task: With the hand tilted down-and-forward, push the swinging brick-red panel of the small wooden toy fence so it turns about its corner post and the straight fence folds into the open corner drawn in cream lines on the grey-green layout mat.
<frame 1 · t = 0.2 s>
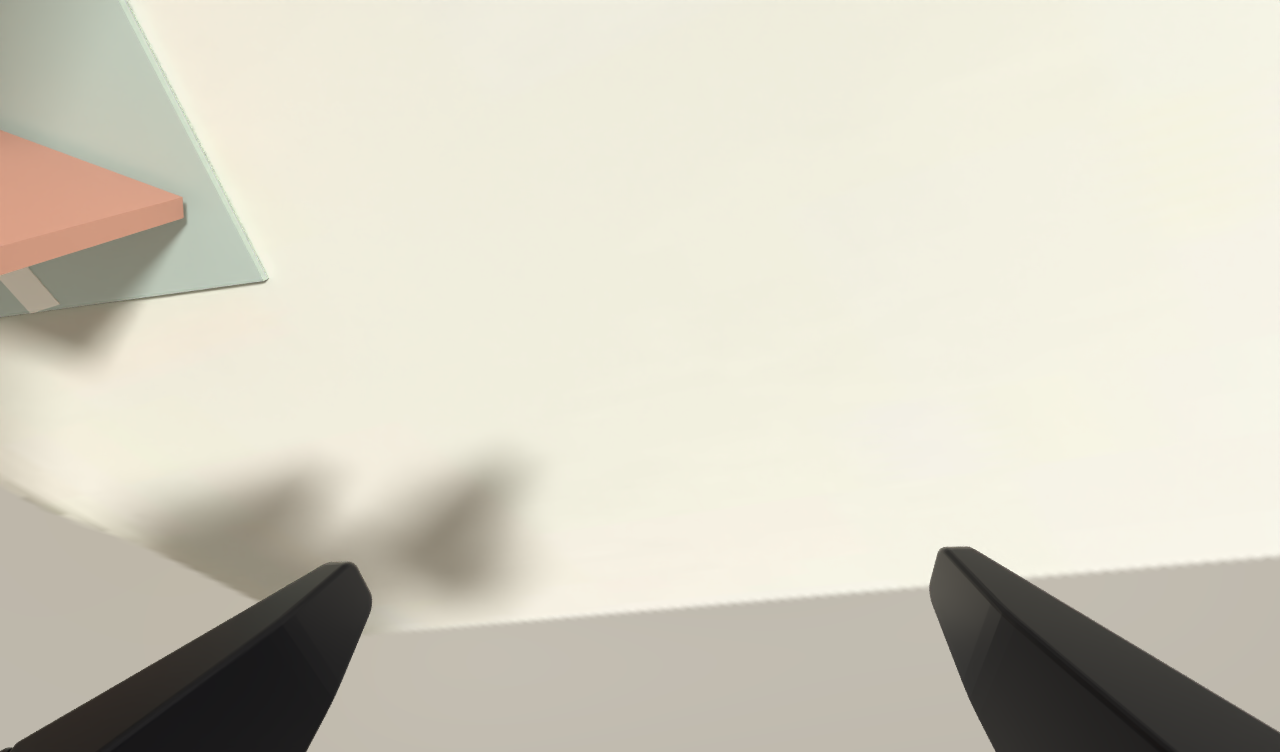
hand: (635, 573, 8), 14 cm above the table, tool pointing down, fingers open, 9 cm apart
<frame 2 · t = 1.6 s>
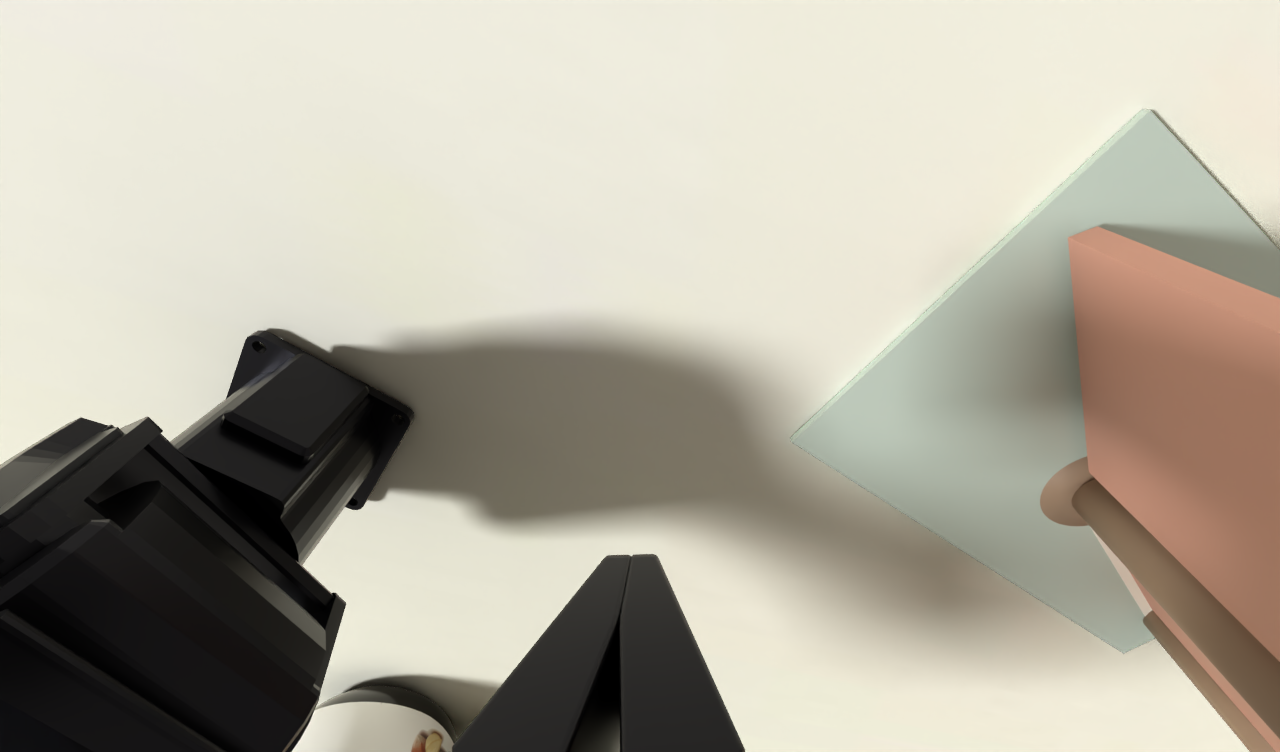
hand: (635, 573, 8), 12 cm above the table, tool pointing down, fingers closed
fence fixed: (1089, 485, 22), resting on layout mat
spread jar: (429, 714, 34), on the table
layout mat: (1089, 485, 22), on the table
swing panel: (1195, 475, 15), point 5 cm above the table, hinge at 0.0°
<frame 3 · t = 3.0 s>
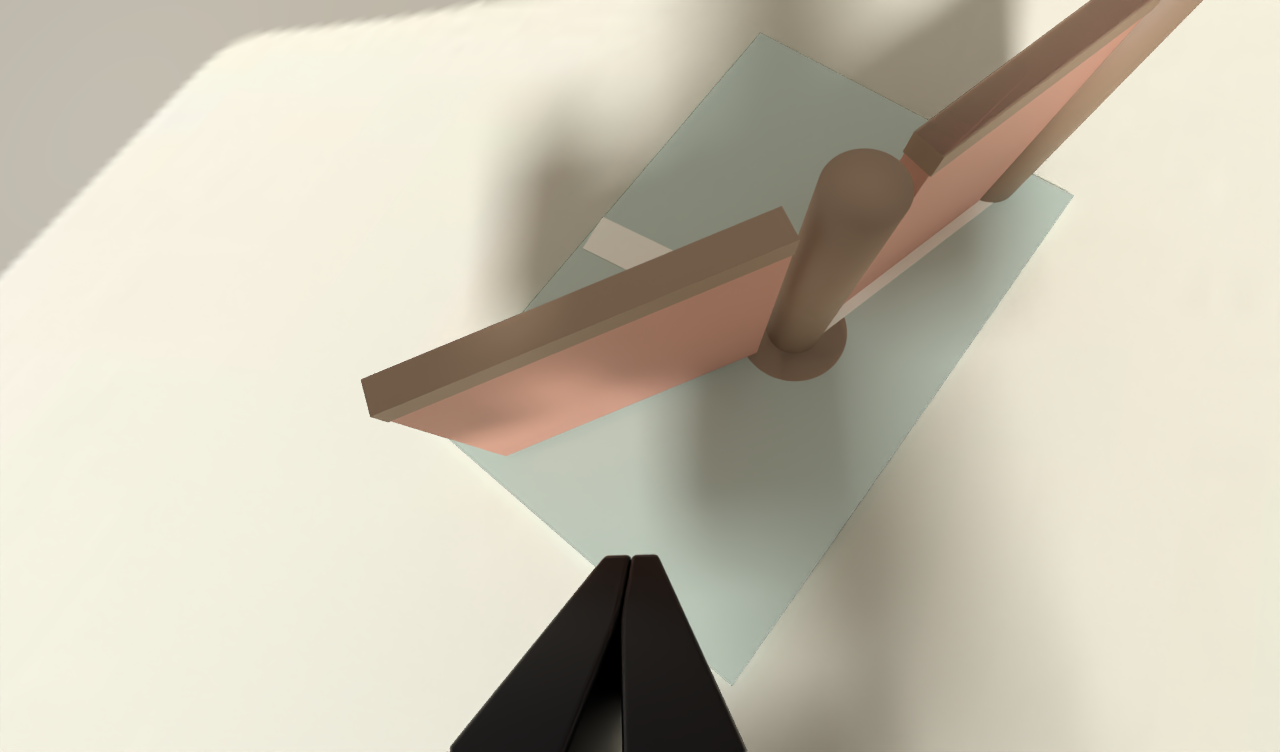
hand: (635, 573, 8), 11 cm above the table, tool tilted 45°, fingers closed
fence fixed: (791, 332, 21), resting on layout mat
layout mat: (791, 332, 21), on the table
swing panel: (651, 346, 16), point 5 cm above the table, hinge at 0.0°
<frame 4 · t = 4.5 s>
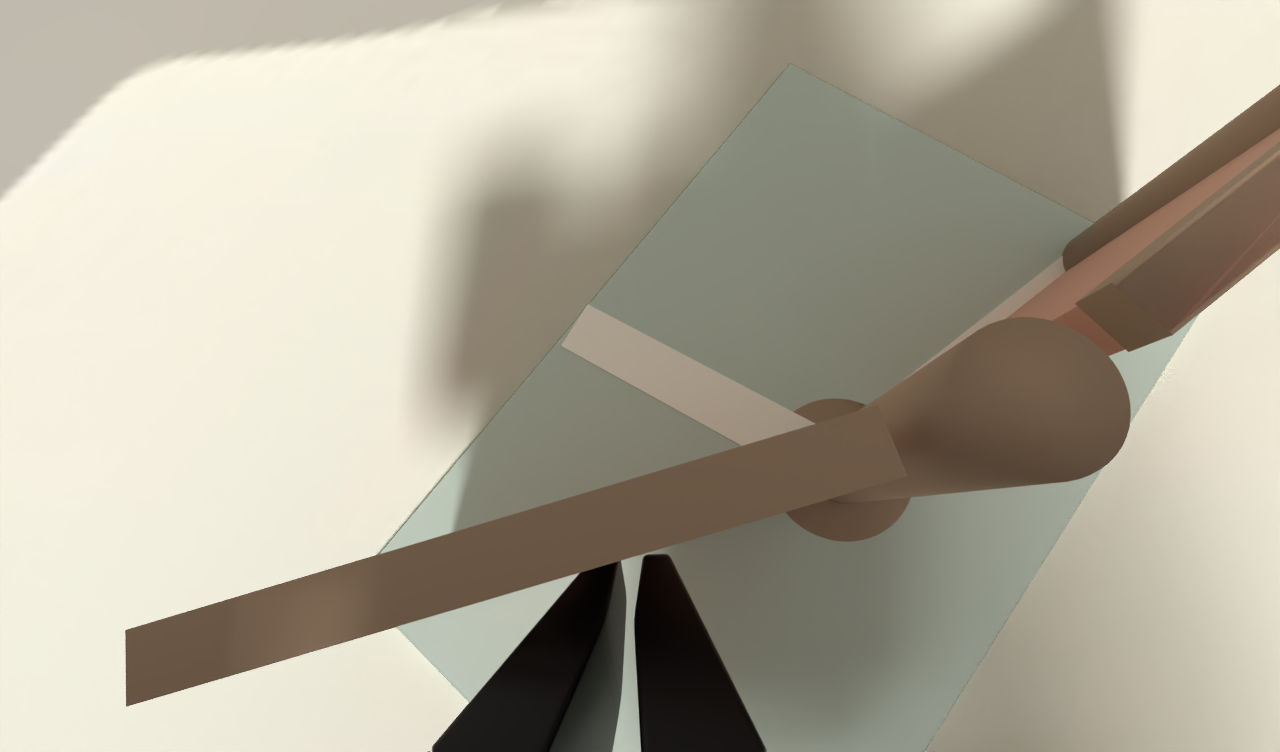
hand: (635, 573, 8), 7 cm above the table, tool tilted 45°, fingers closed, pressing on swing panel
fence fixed: (837, 468, 15), resting on layout mat
layout mat: (837, 468, 15), on the table
swing panel: (641, 522, 11), point 5 cm above the table, hinge at 5.7°, touching gripper
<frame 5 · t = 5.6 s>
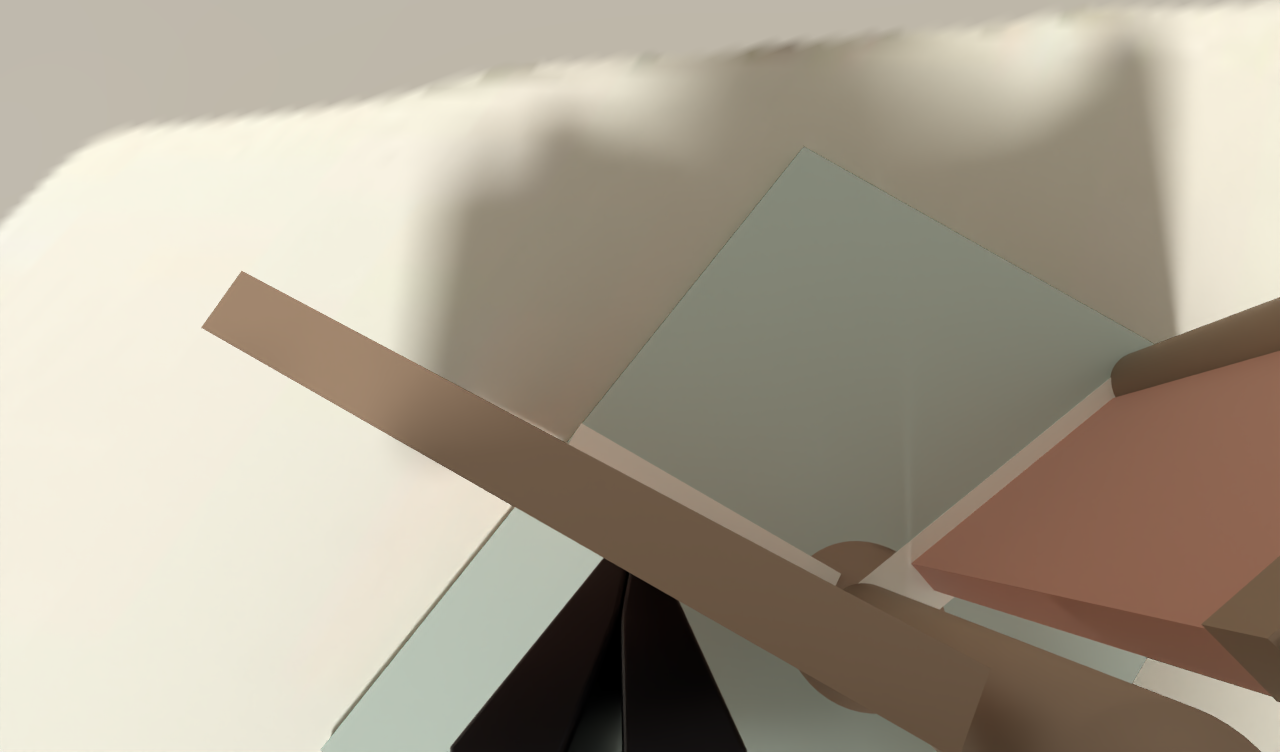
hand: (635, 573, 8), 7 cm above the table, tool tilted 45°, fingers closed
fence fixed: (860, 621, 14), resting on layout mat
layout mat: (860, 621, 14), on the table
swing panel: (663, 523, 10), point 5 cm above the table, hinge at 49.4°, touching gripper
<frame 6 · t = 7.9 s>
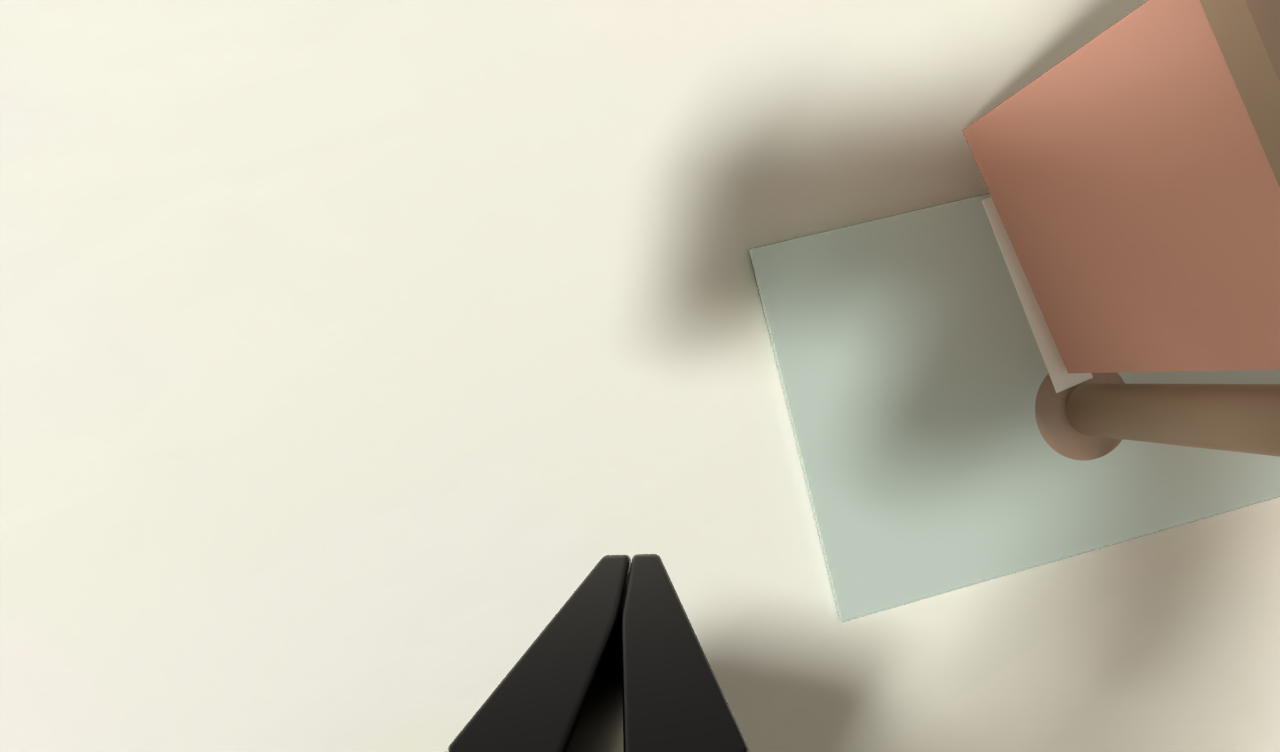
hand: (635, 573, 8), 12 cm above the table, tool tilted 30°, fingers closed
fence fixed: (1076, 408, 21), resting on layout mat
layout mat: (1076, 408, 21), on the table
swing panel: (1153, 254, 16), point 5 cm above the table, hinge at 49.4°
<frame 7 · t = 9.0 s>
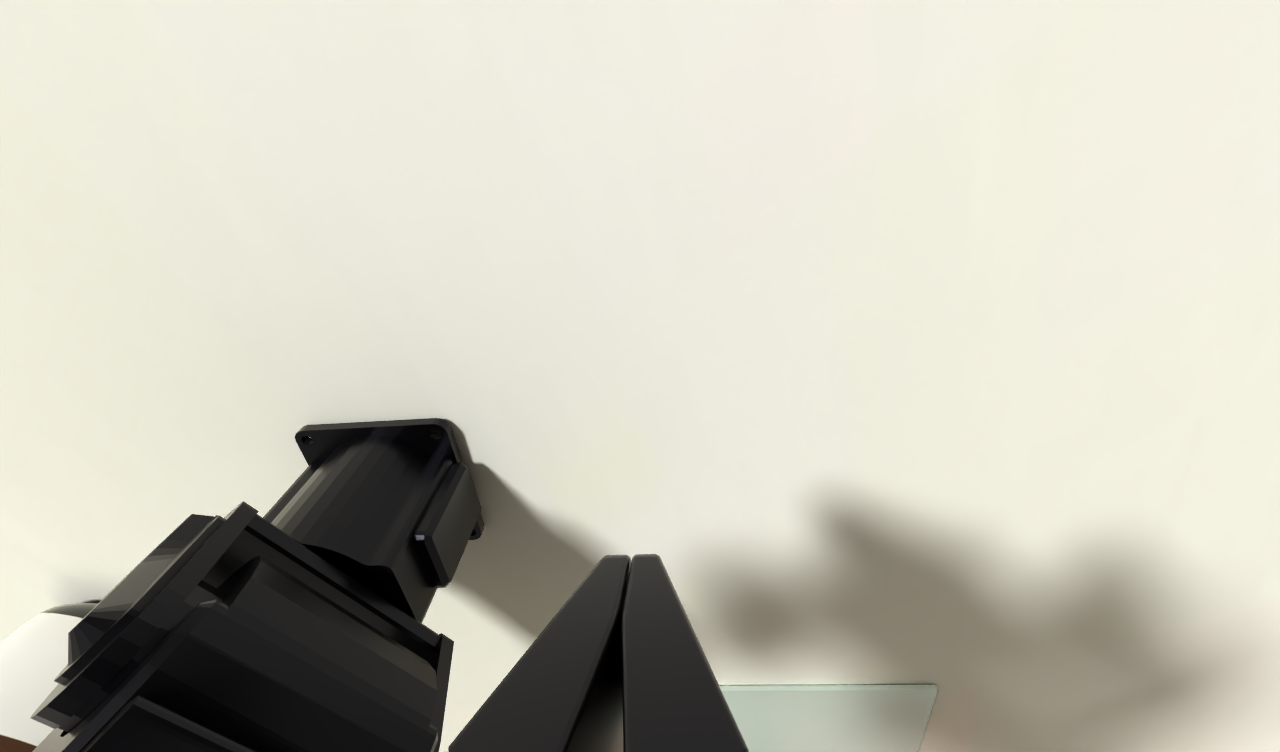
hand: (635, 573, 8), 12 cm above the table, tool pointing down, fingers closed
spread jar: (168, 654, 32), on the table
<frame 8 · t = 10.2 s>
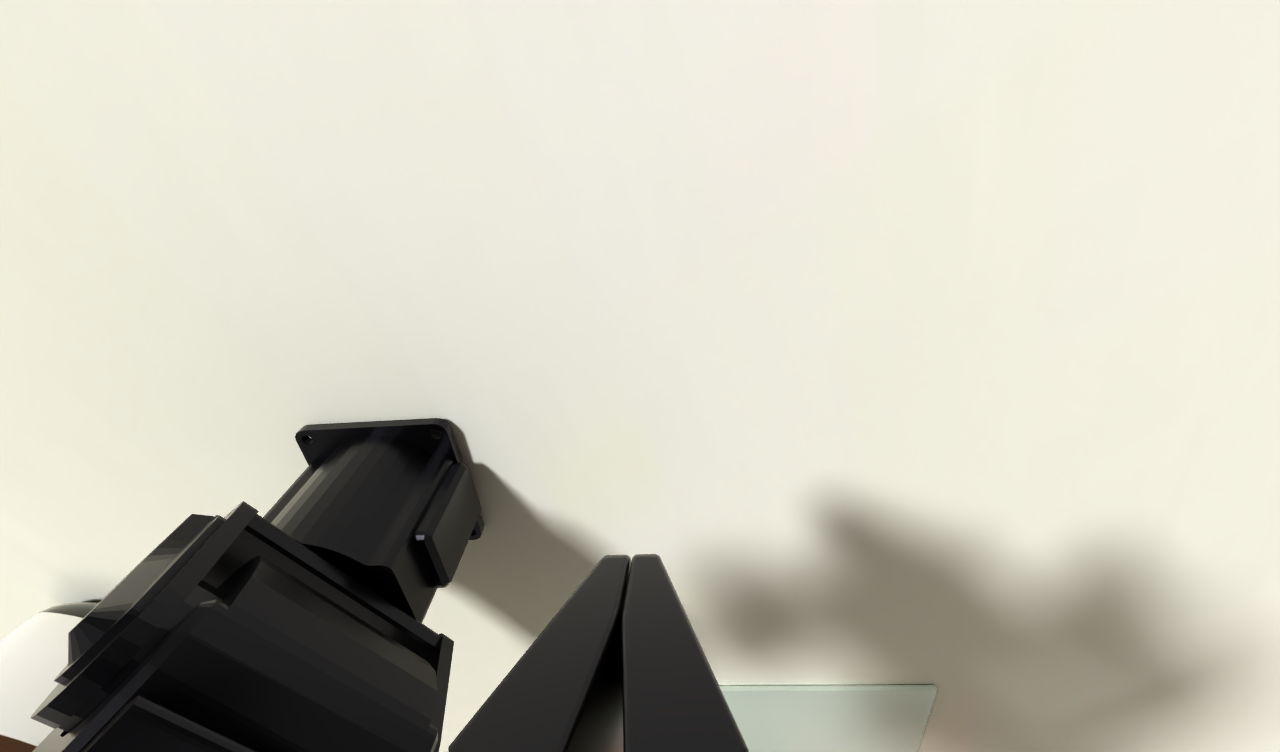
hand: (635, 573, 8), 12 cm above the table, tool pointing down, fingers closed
spread jar: (168, 654, 32), on the table
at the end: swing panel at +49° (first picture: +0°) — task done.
